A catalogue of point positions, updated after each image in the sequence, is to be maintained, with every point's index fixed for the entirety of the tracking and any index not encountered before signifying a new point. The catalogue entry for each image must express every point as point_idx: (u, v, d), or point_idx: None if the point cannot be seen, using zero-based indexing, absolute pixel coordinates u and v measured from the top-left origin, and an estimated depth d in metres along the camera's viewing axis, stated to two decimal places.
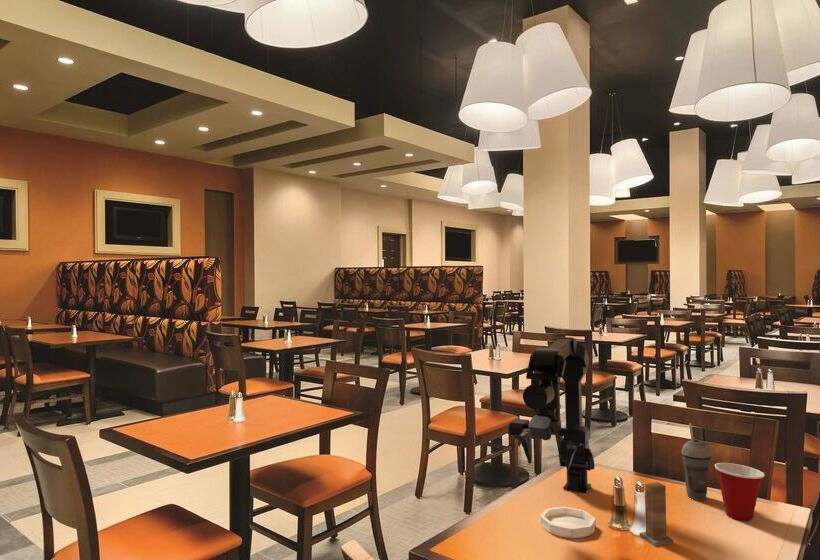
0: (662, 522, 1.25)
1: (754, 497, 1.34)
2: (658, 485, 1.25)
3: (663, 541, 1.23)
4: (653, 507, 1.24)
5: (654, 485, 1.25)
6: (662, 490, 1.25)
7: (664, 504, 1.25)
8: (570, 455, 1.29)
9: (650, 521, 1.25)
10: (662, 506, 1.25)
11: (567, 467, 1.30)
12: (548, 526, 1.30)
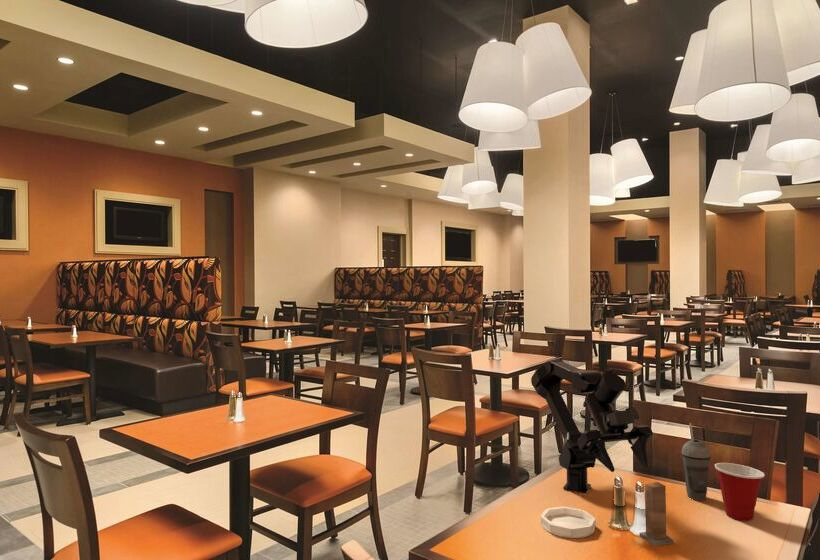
0: (662, 522, 1.25)
1: (754, 497, 1.34)
2: (658, 485, 1.25)
3: (663, 541, 1.23)
4: (653, 507, 1.24)
5: (654, 485, 1.25)
6: (662, 490, 1.25)
7: (664, 504, 1.25)
8: (645, 450, 1.37)
9: (650, 521, 1.25)
10: (662, 506, 1.25)
11: (646, 464, 1.35)
12: (548, 526, 1.30)
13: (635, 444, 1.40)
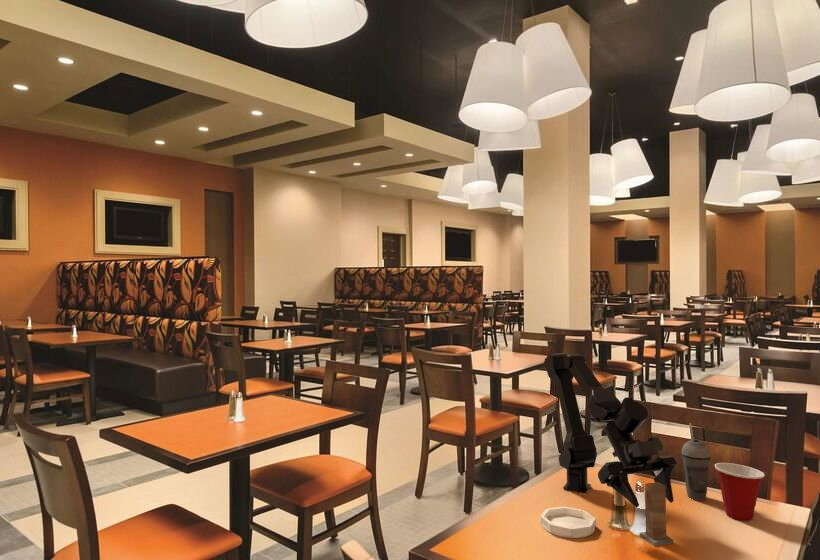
0: (662, 522, 1.25)
1: (754, 497, 1.34)
2: (658, 485, 1.25)
3: (663, 541, 1.23)
4: (653, 507, 1.24)
5: (654, 485, 1.25)
6: (662, 490, 1.25)
7: (664, 504, 1.25)
8: (669, 483, 1.29)
9: (650, 521, 1.25)
10: (662, 506, 1.25)
11: (672, 498, 1.27)
12: (548, 526, 1.30)
13: (659, 476, 1.32)
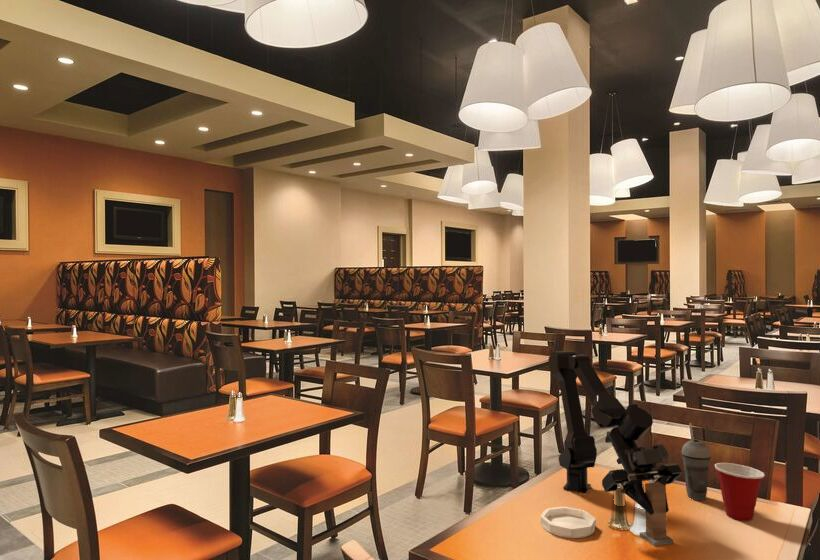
0: (662, 522, 1.25)
1: (754, 497, 1.34)
2: (658, 485, 1.25)
3: (663, 541, 1.23)
4: (653, 507, 1.24)
5: (654, 485, 1.25)
6: (662, 490, 1.25)
7: (664, 504, 1.25)
8: None
9: (650, 521, 1.25)
10: (662, 506, 1.25)
11: (667, 508, 1.25)
12: (548, 526, 1.30)
13: None
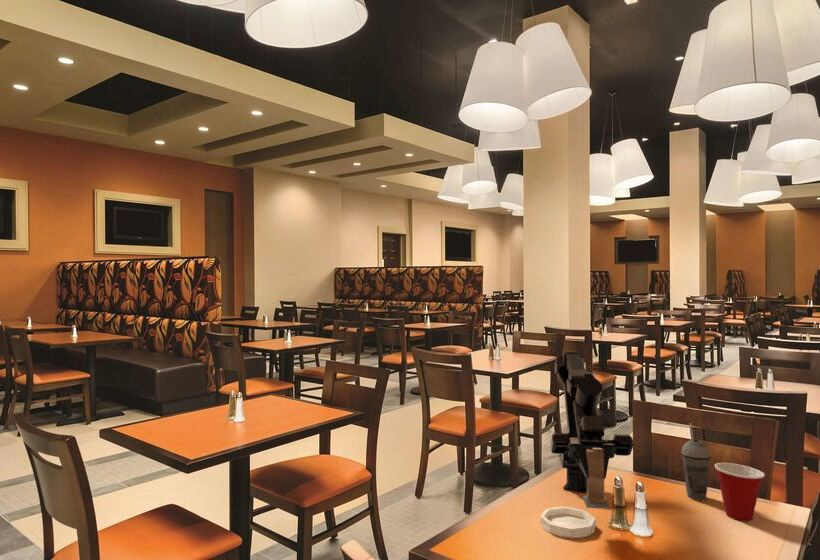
0: (599, 487, 1.28)
1: (754, 497, 1.34)
2: (597, 451, 1.29)
3: (597, 505, 1.27)
4: (589, 471, 1.28)
5: (594, 451, 1.29)
6: (600, 456, 1.28)
7: (602, 470, 1.28)
8: (607, 460, 1.29)
9: (588, 485, 1.29)
10: (600, 472, 1.28)
11: (605, 474, 1.28)
12: (548, 526, 1.30)
13: None
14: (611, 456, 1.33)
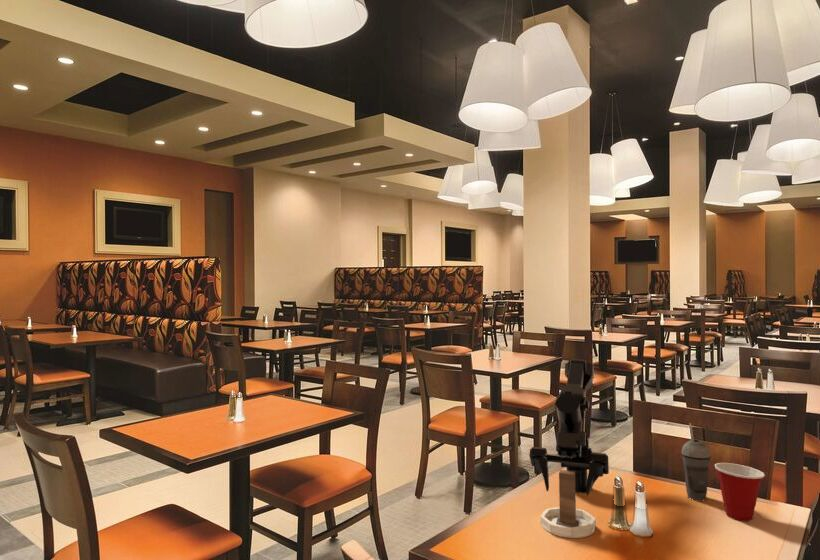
0: (570, 508, 1.32)
1: (754, 497, 1.34)
2: (568, 473, 1.32)
3: (566, 525, 1.31)
4: (559, 491, 1.32)
5: (565, 472, 1.33)
6: (570, 478, 1.32)
7: (572, 492, 1.31)
8: (591, 478, 1.31)
9: None
10: (570, 493, 1.32)
11: (587, 491, 1.30)
12: (548, 526, 1.30)
13: None
14: (600, 474, 1.35)
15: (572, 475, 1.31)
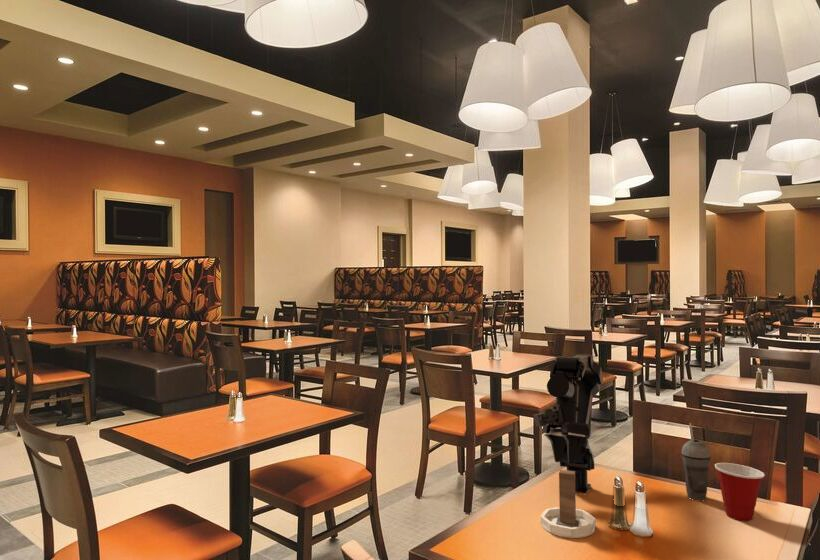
0: (570, 508, 1.32)
1: (754, 497, 1.34)
2: (568, 473, 1.32)
3: (566, 525, 1.31)
4: (559, 491, 1.32)
5: (565, 472, 1.33)
6: (570, 478, 1.32)
7: (572, 492, 1.31)
8: (568, 448, 1.40)
9: None
10: (570, 493, 1.32)
11: (568, 461, 1.40)
12: (548, 526, 1.30)
13: None
14: (583, 438, 1.39)
15: (572, 475, 1.31)
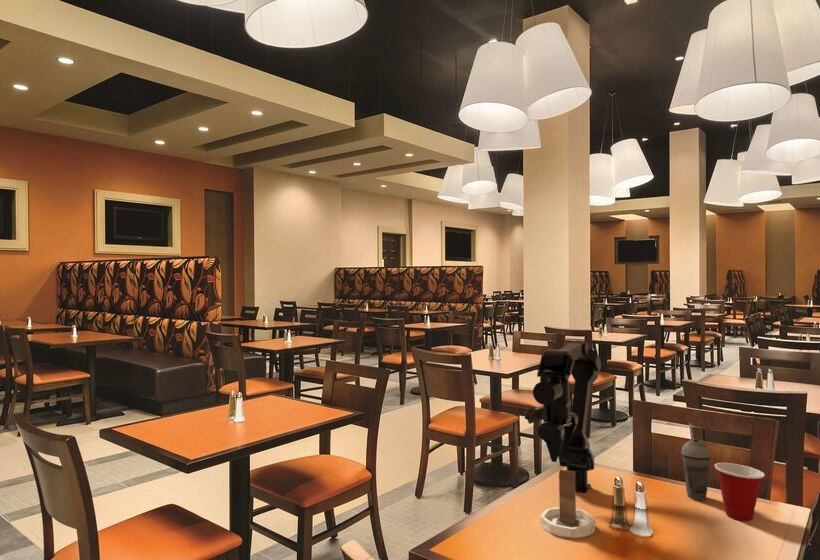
0: (570, 508, 1.32)
1: (754, 497, 1.34)
2: (568, 473, 1.32)
3: (566, 525, 1.31)
4: (559, 491, 1.32)
5: (565, 472, 1.33)
6: (570, 478, 1.32)
7: (572, 492, 1.31)
8: None
9: None
10: (570, 493, 1.32)
11: None
12: (548, 526, 1.30)
13: None
14: None
15: (572, 475, 1.31)
